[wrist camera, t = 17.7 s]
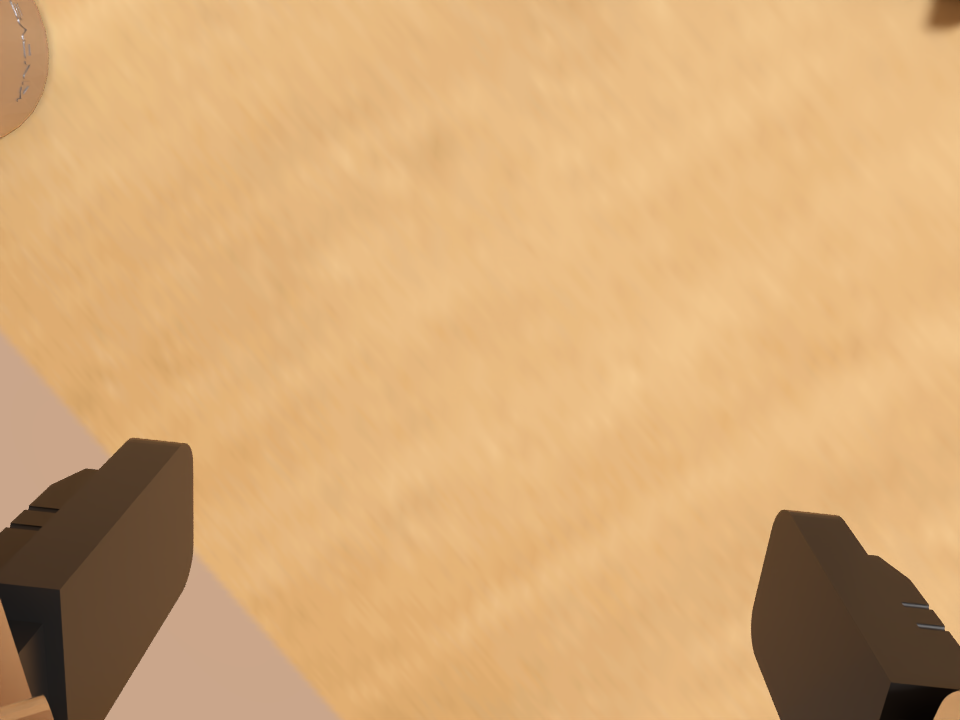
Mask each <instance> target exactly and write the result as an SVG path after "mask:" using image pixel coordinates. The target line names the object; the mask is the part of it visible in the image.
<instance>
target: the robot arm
mask: <svg viewBox="0 0 960 720" xmlns="http://www.w3.org/2000/svg"><path fill="white" fill-rule="evenodd" d="M48 59H49V51H48V44H47V37H46V31H45V28H44V25H43V22H42V19H41V16H40V13H39V10H38V8H37V6H36V4H35V2H34V1H33V0H0V138H1V137H3V136H6V135H7V134H9V133H10V132H12V131H13V130H15V129H16V128H18V127H19V126H21V124H22V123H23V122H24V121H25V120H26V119H27V118H28V117H29V116H30V115H31V113H32V112H33V111H34V109H35V107H36V105H37V104H38V102H39V100H40V98H41V96H42V94H43V90H44V87H45V83H46V79H47V75H48ZM192 556H193V456H192V451H191V448H190V446H189V445H188V444H186V443H177V442H167V441H158V440H149V439H140V438H131V439H129V440H128V441H127V442H126V443H125V444H124V445H123V446H122V447H121V448H120V449H119V450H118V451H117V452H116V453H115V454H114V455H113V456H112V457H111V458H110V459H109V460H108V461H107V462H106V463H105V464H104V465H103V466H102V467H101V468H100V469H99V470H94V469H84V470H82V471H80V472H78V473H75V474H73V475H71V476H69V477H67V478H65V479H63V480H60V481H58V482H56V483H54V484H52V485H51V486H49V487H48V488H47V489H46V490H45V491H44V492H43V493H42V494H41V495H40V496H39V497H38V498H37V499H36V500H35V501H34V502H32V503H31V504H30V505H29V509H28V510H24V511H23V512H22V513H21V514H20V515H19V516H18V517H17V518H16V519H14V520H13V521H12V522H11V525H10V528H7V527H6V528H5V529H4V530H3V531H2V532H1V533H0V720H104V719H105V717H106V716H107V714H108V712H109V711H110V709H111V708H112V706H113V704H114V702H115V701H116V699H117V698H118V696H119V694H120V693H121V691H122V690H123V688H124V686H125V685H126V683H127V681H128V680H129V678H130V677H131V675H132V673H133V671H134V670H135V668H136V667H137V665H138V663H139V662H140V660H141V658H142V657H143V655H144V654H145V652H146V650H147V649H148V647H149V645H150V644H151V642H152V640H153V639H154V637H155V636H156V634H157V632H158V630H159V629H160V627H161V626H162V624H163V622H164V621H165V619H166V618H167V616H168V614H169V613H170V611H171V609H172V608H173V606H174V604H175V603H176V601H177V600H178V598H179V596H180V594H181V593H182V591H183V589H184V587H185V585H186V582H187V579H188V575H189V572H190V568H191V562H192ZM944 627H945V626H944V624H943V623H942V622H941V620H940V619H939V618H938V616H937V615H936V614H935V612H934V611H933V610H929V604H928V603H927V602H926V600H925V599H924V598H923V596H922V595H921V594H920V592H919V591H918V590H917V588H916V587H915V586H914V584H913V583H912V582H911V580H910V579H909V578H907V577H906V576H904V575H903V574H902V573H900V572H899V571H898V570H896V569H895V568H894V567H892V566H891V565H890V564H888V563H887V562H885V561H884V560H883V559H881V558H880V557H879V556H874V555H868V554H867V553H866V551H865V550H864V548H863V547H862V546H861V544H860V543H859V541H858V540H857V538H856V537H855V536H854V534H853V533H852V531H851V530H850V528H849V527H848V526H847V524H846V523H845V521H844V520H843V519H842V518H841V517H840V516H837V515H828V514H819V513H810V512H801V511H791V510H782V511H780V512H779V513H778V515H777V516H776V518H775V521H774V523H773V527H772V530H771V535H770V539H769V543H768V547H767V551H766V555H765V560H764V564H763V568H762V572H761V576H760V581H759V585H758V589H757V593H756V597H755V601H754V606H753V611H752V620H751V637H752V645H753V650H754V654H755V657H756V660H757V662H758V665H759V667H760V670H761V672H762V675H763V677H764V680H765V682H766V685H767V687H768V690H769V692H770V695H771V697H772V700H773V702H774V705H775V707H776V710H777V712H778V715H779V717H780V720H960V646H959V644H958V643H957V642H956V640H955V639H954V638H953V636H952V635H951V634H950V632H949V631H945V629H944Z"/></svg>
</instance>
